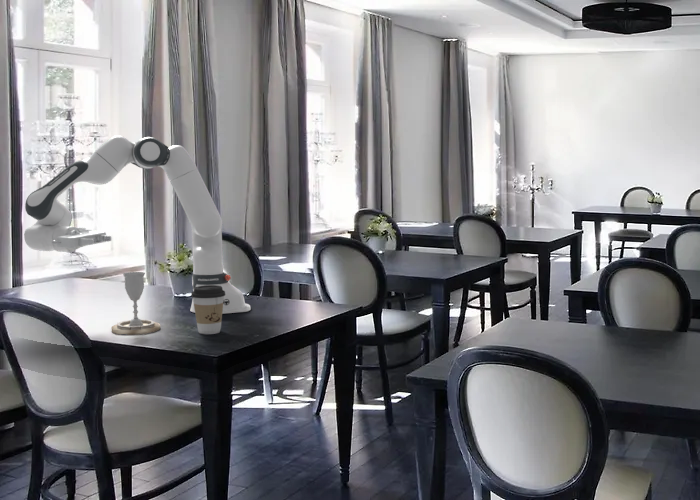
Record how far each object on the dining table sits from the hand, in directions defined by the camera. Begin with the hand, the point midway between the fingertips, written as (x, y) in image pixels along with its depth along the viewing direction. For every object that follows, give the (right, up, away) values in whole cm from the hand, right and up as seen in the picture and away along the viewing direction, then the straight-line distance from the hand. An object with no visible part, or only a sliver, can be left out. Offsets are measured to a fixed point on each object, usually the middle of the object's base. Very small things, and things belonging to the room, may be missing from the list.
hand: (102, 240), depth 289 cm
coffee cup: (+37, -31, -6) cm, 49 cm away
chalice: (+12, -29, -2) cm, 32 cm away
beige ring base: (+12, -30, -2) cm, 33 cm away
